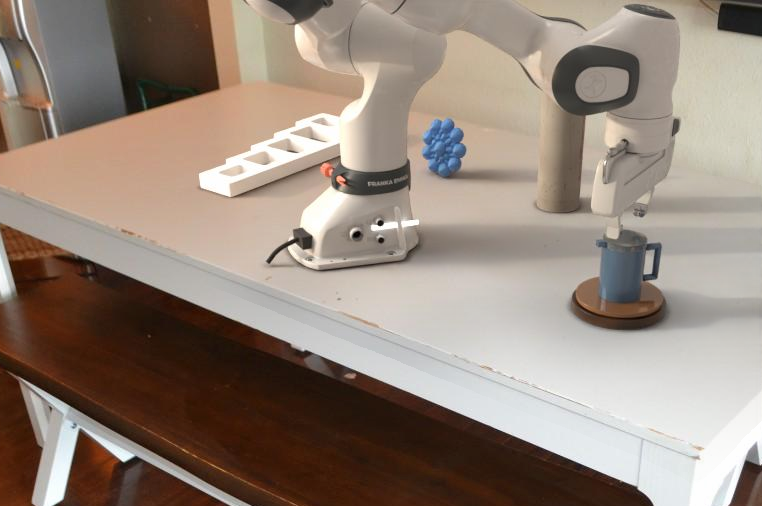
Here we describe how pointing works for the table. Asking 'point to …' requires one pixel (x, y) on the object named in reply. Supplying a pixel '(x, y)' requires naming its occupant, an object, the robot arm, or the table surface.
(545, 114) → the thermos bottle
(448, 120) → the grapes
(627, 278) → the blue mug on coaster
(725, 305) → the table surface
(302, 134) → the holder
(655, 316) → the turntable base
